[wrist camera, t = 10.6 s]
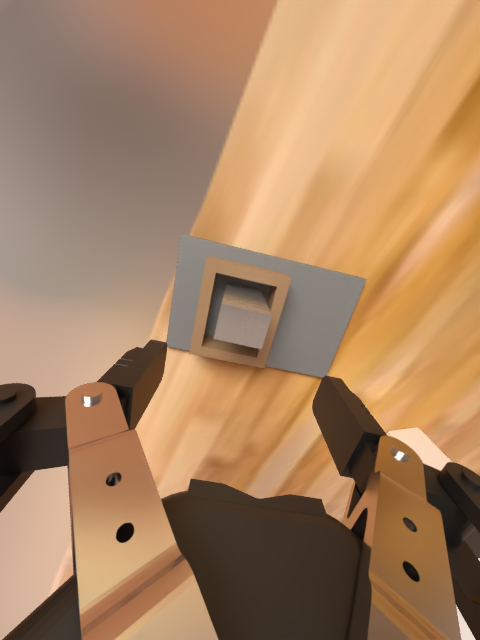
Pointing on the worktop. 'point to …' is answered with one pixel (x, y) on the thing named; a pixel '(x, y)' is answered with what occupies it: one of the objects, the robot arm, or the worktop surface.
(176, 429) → the worktop surface
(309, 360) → the board
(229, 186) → the worktop surface
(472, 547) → the jar
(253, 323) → the block
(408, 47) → the worktop surface
